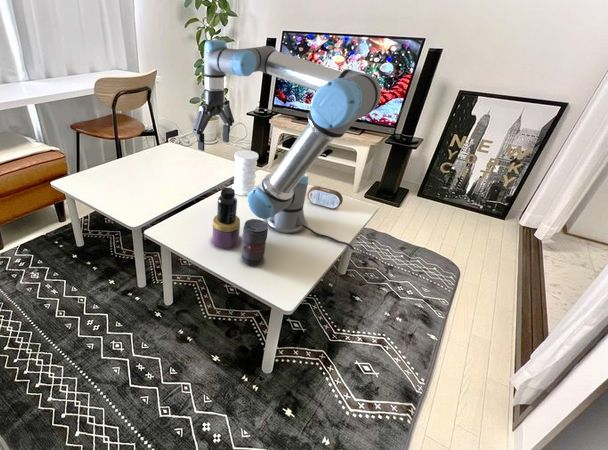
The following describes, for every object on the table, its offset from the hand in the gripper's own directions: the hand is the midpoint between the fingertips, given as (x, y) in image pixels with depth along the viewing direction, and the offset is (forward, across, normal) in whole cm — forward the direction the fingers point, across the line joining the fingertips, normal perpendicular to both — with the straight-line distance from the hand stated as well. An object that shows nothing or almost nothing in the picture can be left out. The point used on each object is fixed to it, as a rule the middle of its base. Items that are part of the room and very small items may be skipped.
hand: (213, 145), depth 134 cm
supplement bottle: (+19, +14, +21) cm, 32 cm away
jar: (+29, +14, +21) cm, 38 cm away
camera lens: (+29, +15, +35) cm, 48 cm away
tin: (+29, -38, +32) cm, 57 cm away
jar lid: (+20, +14, +21) cm, 32 cm away
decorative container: (+29, -24, -2) cm, 37 cm away
